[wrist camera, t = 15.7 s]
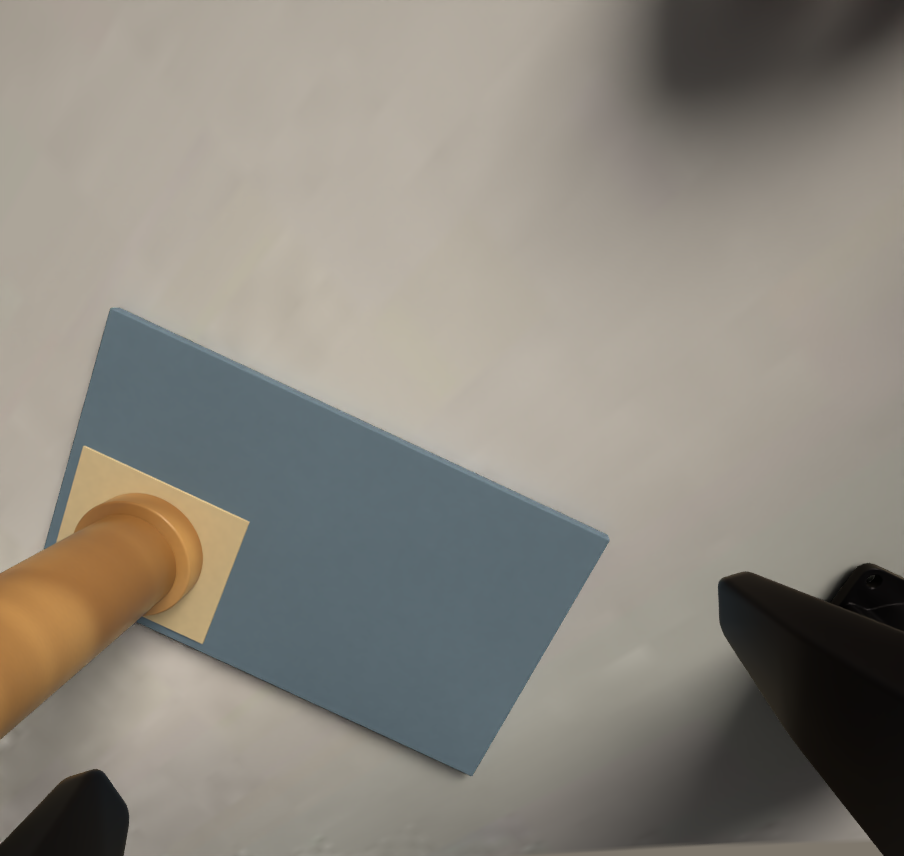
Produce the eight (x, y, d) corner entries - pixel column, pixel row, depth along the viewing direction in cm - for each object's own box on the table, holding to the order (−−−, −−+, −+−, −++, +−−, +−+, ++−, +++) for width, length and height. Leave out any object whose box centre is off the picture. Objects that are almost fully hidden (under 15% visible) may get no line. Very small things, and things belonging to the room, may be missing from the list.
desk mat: (608, 534, 21) (611, 541, 20) (472, 767, 24) (471, 779, 23) (119, 307, 20) (107, 307, 20) (45, 570, 23) (33, 577, 23)
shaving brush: (191, 484, 21) (-235, 737, 9) (217, 602, 22) (-131, 969, 10) (73, 494, 22) (-477, 742, 10) (104, 608, 23) (-354, 961, 11)
